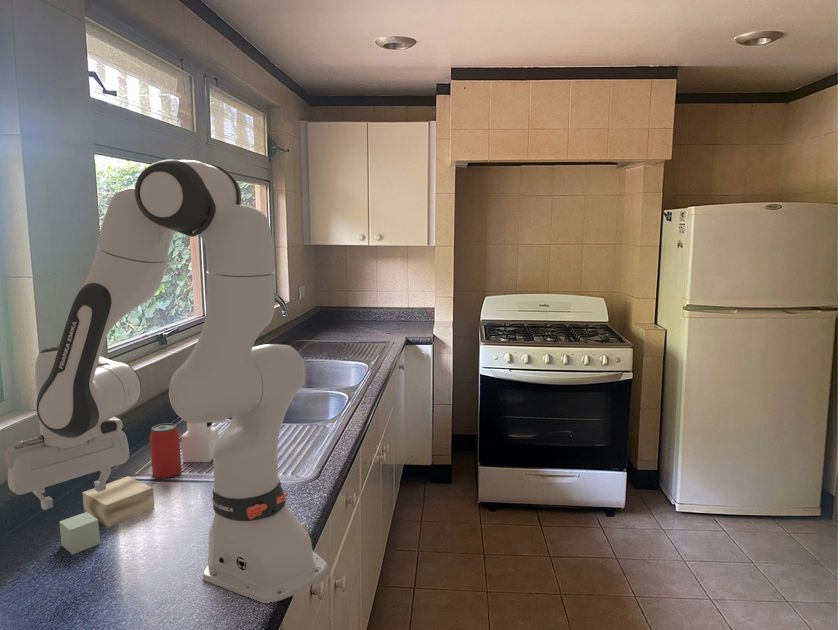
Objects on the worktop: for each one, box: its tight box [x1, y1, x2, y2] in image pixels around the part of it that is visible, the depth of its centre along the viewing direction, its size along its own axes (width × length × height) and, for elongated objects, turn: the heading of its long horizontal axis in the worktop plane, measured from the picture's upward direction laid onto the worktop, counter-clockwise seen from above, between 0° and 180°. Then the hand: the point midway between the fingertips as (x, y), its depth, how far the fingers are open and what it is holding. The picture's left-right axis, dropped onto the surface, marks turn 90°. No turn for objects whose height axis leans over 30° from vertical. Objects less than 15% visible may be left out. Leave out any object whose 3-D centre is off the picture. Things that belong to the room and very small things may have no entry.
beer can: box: [149, 422, 182, 480], centre depth 148 cm, size 7×7×12 cm
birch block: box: [81, 475, 155, 528], centre depth 131 cm, size 10×10×5 cm
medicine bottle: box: [180, 422, 220, 463], centre depth 159 cm, size 7×7×12 cm
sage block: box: [58, 512, 101, 555], centre depth 117 cm, size 5×5×5 cm
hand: (74, 498), depth 116 cm, fingers open, 8 cm apart
